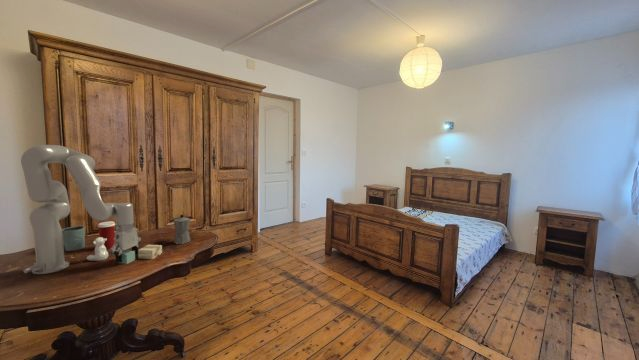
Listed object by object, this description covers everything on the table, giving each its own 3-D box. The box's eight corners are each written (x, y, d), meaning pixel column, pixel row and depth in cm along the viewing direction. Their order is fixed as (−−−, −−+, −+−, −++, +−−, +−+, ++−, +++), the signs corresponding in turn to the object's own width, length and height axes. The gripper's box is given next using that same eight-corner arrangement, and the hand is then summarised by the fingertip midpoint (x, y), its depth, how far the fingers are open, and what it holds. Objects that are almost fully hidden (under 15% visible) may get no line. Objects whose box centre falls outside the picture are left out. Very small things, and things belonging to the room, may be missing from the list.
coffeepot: (190, 244, 165) (190, 216, 163) (173, 246, 161) (172, 217, 159) (190, 237, 179) (189, 211, 177) (174, 238, 174) (173, 212, 172)
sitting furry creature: (107, 254, 147) (106, 233, 146) (115, 257, 143) (114, 236, 142) (86, 260, 139) (84, 238, 137) (93, 263, 135) (92, 241, 133)
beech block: (152, 259, 142) (152, 250, 142) (138, 258, 143) (138, 249, 142) (162, 253, 150) (161, 245, 150) (148, 253, 151) (148, 244, 150)
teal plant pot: (77, 251, 150) (76, 230, 148) (57, 251, 148) (55, 231, 147) (90, 244, 160) (89, 225, 158) (71, 245, 158) (70, 225, 157)
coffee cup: (120, 245, 160) (118, 221, 158) (108, 250, 152) (106, 225, 150) (107, 244, 161) (106, 220, 159) (94, 249, 153) (93, 224, 151)
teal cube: (127, 263, 136) (126, 254, 135) (118, 263, 136) (118, 253, 136) (135, 260, 141) (134, 251, 140) (127, 259, 141) (126, 250, 141)
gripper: (116, 232, 127) (118, 265, 129) (145, 222, 144) (146, 252, 146) (103, 231, 128) (105, 264, 130) (133, 221, 145) (135, 251, 147)
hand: (127, 258), depth 138 cm, fingers open, 9 cm apart
